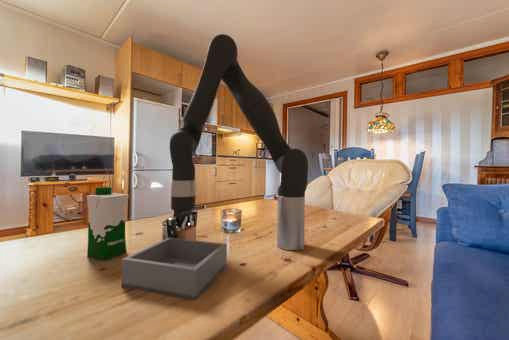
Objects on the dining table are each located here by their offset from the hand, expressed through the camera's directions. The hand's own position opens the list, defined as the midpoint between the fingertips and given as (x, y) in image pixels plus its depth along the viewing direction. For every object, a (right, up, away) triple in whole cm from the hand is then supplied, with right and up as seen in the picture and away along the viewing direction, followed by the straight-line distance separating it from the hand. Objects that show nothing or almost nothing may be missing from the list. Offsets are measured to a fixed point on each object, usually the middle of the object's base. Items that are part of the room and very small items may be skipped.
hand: (182, 246), depth 69 cm
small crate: (0, -1, 0) cm, 1 cm away
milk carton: (-21, -1, -5) cm, 22 cm away
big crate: (+5, -1, -17) cm, 18 cm away
